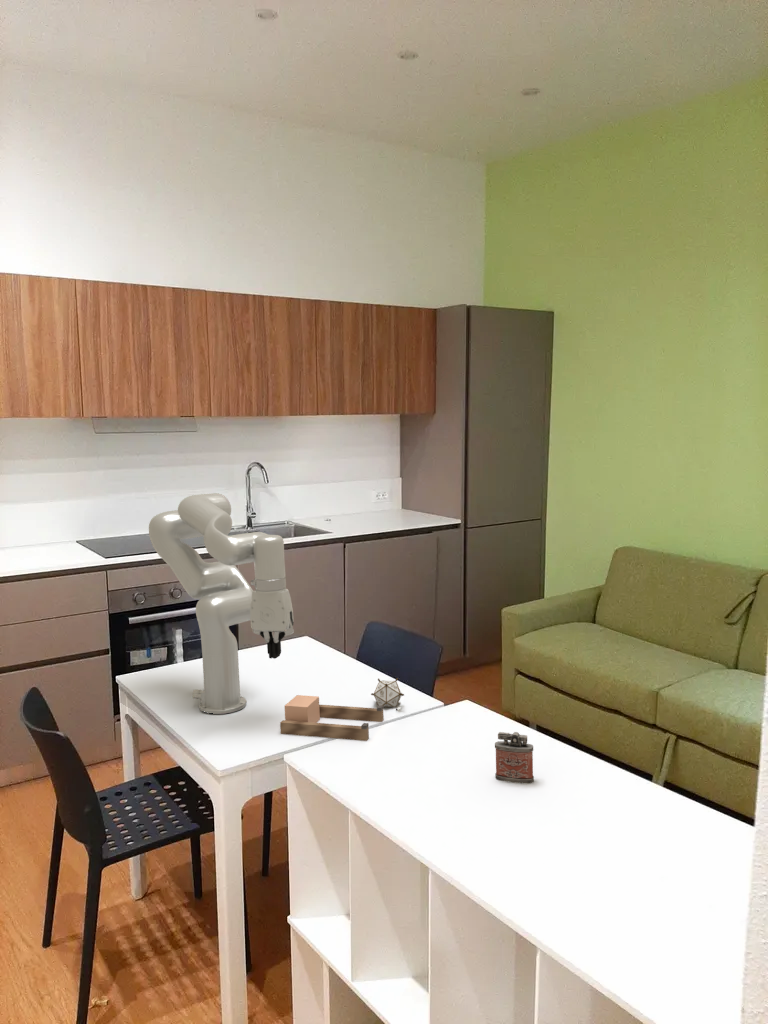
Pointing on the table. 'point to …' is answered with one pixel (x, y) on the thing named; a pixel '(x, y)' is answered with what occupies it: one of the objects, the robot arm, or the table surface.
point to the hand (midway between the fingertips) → (274, 656)
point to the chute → (336, 729)
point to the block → (303, 709)
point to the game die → (387, 693)
